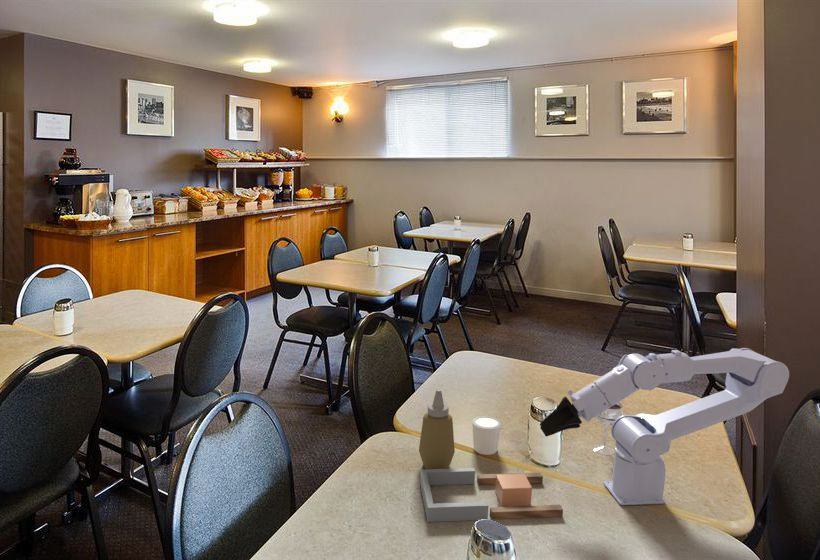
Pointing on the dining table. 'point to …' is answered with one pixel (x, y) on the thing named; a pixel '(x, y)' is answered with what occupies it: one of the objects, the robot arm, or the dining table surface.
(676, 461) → the dining table surface
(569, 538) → the dining table surface
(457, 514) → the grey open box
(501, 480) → the block
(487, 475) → the channel
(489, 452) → the white cup
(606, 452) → the wineglass
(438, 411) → the squeeze bottle
